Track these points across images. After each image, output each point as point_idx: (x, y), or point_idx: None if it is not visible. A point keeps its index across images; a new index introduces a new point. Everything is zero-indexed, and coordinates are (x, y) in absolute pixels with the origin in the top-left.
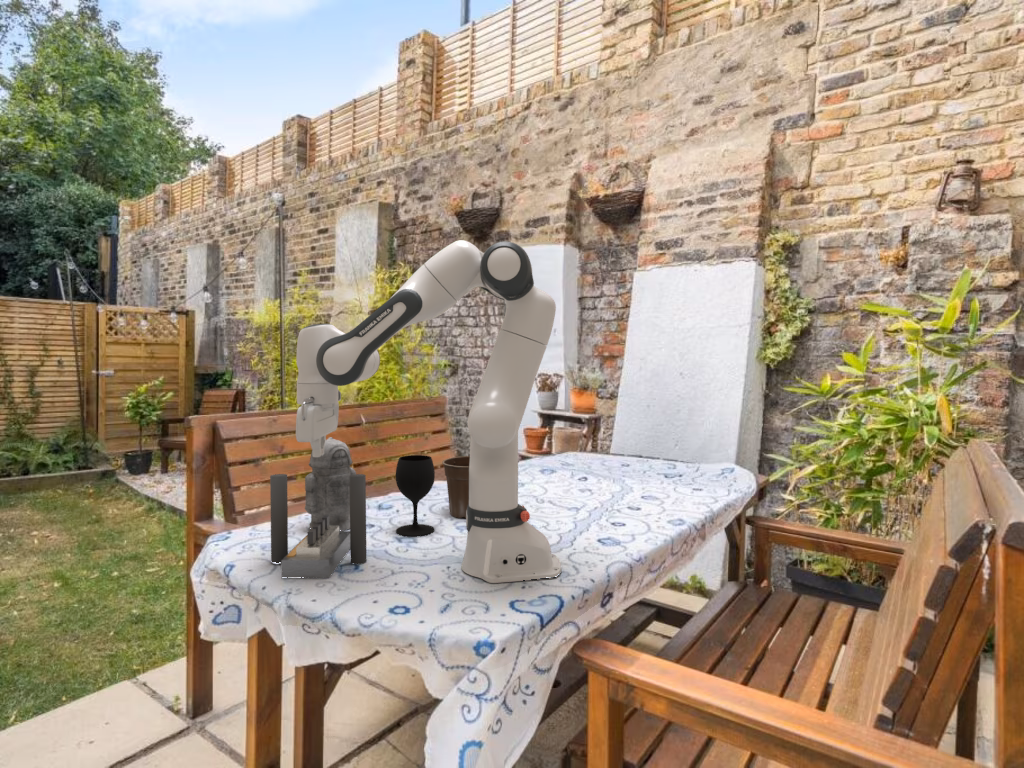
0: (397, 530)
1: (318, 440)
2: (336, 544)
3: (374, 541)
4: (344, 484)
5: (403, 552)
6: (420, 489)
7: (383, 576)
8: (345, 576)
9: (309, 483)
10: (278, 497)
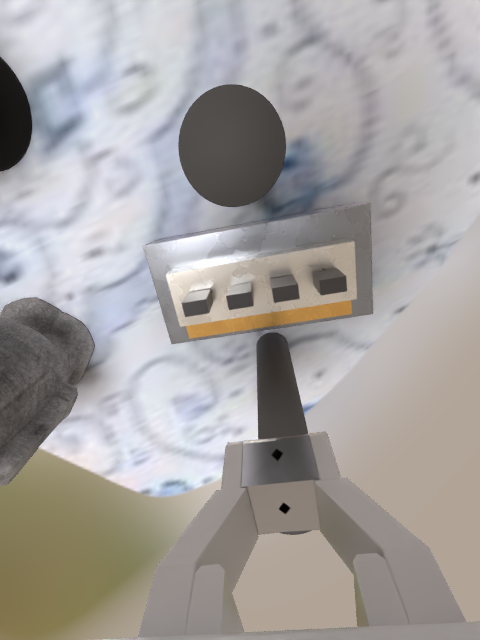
0: (4, 162)
1: (446, 588)
2: (253, 237)
3: (99, 199)
4: None
5: (155, 73)
6: None
7: (336, 60)
8: (341, 168)
9: (27, 454)
10: None
